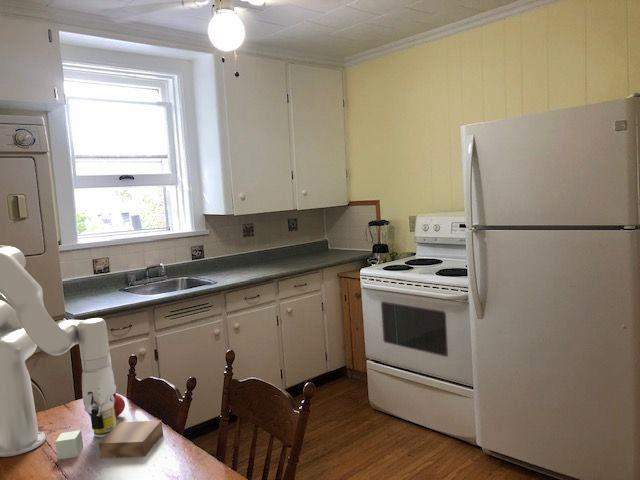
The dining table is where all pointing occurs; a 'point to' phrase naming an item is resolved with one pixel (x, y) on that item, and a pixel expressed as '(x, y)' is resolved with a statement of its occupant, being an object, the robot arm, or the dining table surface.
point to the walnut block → (131, 439)
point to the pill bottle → (106, 418)
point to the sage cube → (69, 444)
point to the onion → (119, 405)
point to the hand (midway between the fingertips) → (104, 422)
